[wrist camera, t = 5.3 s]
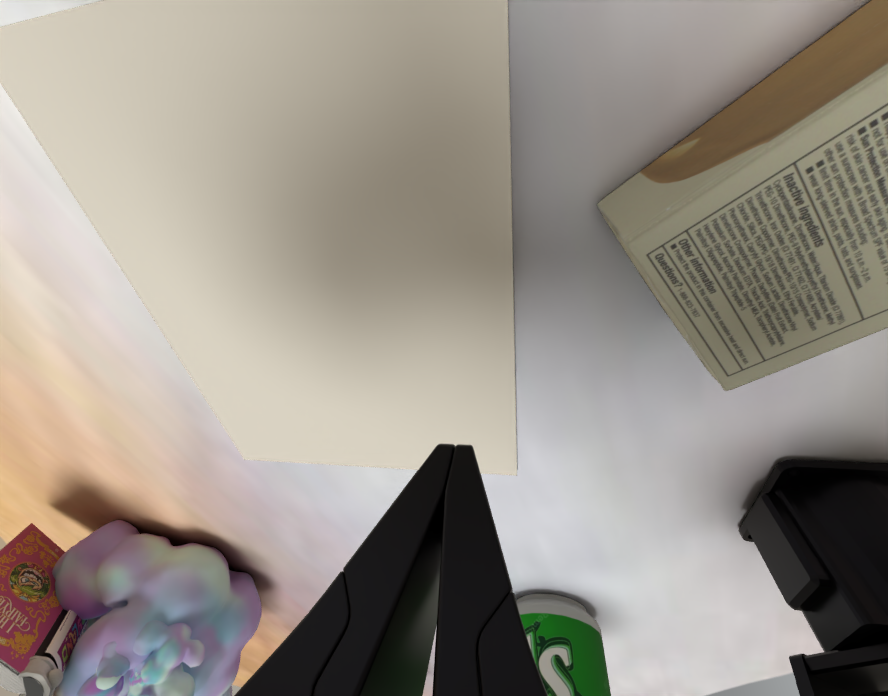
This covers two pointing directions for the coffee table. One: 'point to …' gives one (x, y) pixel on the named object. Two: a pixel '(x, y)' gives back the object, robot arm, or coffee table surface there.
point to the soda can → (565, 645)
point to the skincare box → (774, 212)
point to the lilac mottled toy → (121, 616)
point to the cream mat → (301, 207)
